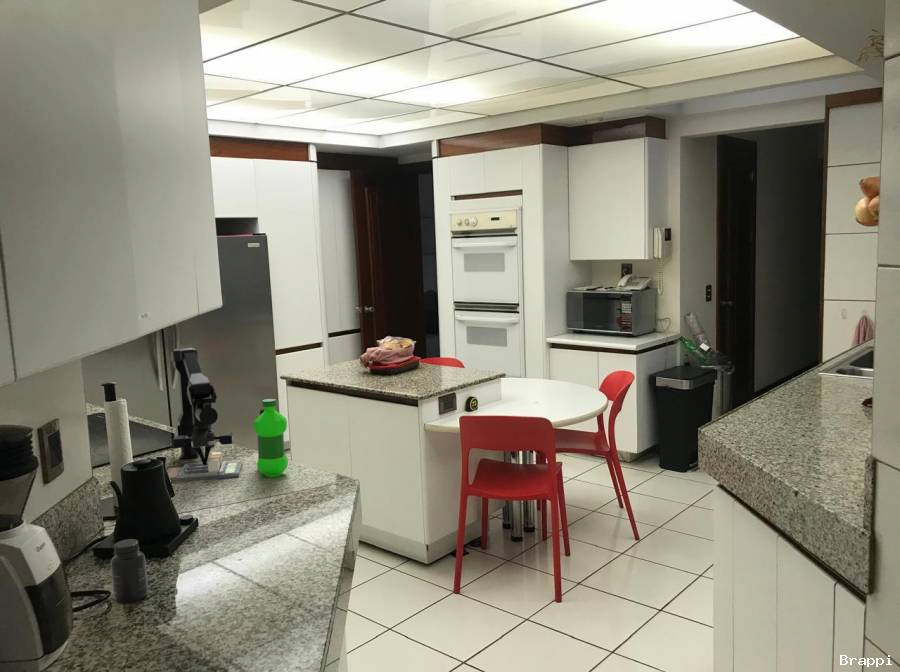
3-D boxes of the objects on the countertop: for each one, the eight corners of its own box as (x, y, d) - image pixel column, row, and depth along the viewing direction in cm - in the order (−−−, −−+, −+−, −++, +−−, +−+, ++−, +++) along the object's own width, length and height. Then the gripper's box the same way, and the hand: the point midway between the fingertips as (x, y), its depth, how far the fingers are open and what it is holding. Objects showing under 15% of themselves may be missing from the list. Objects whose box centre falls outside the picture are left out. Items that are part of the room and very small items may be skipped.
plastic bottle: (265, 481, 231) (260, 405, 228) (252, 474, 239) (248, 400, 236) (294, 475, 237) (290, 400, 234) (281, 468, 245) (277, 395, 242)
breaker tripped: (211, 468, 242) (210, 455, 242) (220, 467, 243) (219, 455, 242) (210, 470, 239) (209, 458, 239) (219, 469, 240) (218, 457, 240)
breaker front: (209, 471, 238) (209, 459, 238) (219, 470, 239) (218, 458, 238) (208, 474, 236) (207, 461, 235) (218, 473, 236) (217, 460, 236)
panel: (169, 471, 244) (168, 465, 244) (242, 465, 249) (242, 459, 249) (161, 483, 232) (161, 476, 232) (238, 476, 237) (238, 470, 236)
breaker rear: (213, 464, 246) (212, 452, 246) (222, 463, 247) (221, 451, 246) (212, 466, 243) (211, 454, 243) (221, 466, 244) (220, 454, 243)
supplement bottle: (138, 586, 160) (134, 534, 158) (154, 594, 156) (150, 541, 154) (107, 598, 155) (102, 544, 153) (123, 607, 150) (118, 552, 149)
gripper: (167, 427, 229) (171, 474, 231) (228, 422, 232) (231, 470, 234) (174, 419, 240) (177, 464, 242) (232, 415, 243) (235, 460, 245)
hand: (205, 465), depth 240 cm, fingers closed
